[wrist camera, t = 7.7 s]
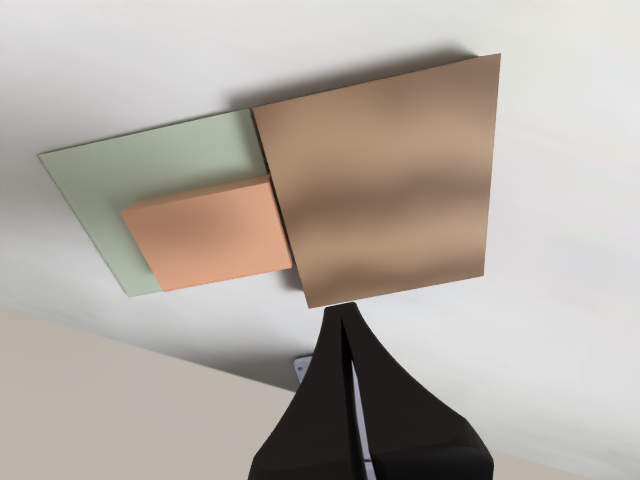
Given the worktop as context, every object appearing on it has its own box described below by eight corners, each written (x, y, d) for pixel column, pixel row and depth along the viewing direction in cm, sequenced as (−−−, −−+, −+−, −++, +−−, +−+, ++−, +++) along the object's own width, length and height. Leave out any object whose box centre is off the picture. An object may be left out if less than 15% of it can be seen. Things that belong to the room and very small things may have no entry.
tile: (292, 252, 22) (291, 267, 20) (174, 275, 22) (163, 291, 20) (271, 173, 19) (267, 182, 17) (136, 200, 19) (119, 212, 17)
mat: (293, 262, 23) (293, 265, 22) (131, 294, 23) (129, 297, 23) (249, 107, 17) (248, 108, 17) (43, 154, 18) (38, 155, 18)
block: (469, 261, 23) (483, 275, 22) (308, 292, 24) (308, 308, 22) (480, 56, 17) (500, 53, 15) (257, 106, 17) (252, 108, 16)
